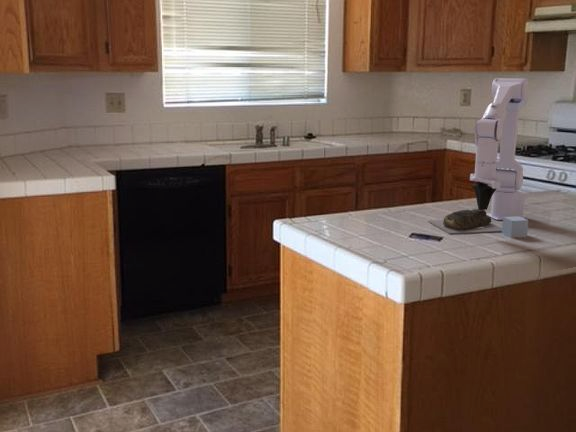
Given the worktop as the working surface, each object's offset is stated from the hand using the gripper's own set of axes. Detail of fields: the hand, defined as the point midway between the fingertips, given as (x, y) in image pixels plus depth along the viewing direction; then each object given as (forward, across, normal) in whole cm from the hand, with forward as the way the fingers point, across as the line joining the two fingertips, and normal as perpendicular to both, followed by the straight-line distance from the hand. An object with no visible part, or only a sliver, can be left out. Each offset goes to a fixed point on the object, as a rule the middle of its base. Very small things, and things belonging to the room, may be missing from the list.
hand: (482, 209), depth 183 cm
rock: (+7, -10, 0) cm, 12 cm away
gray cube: (+8, +2, +9) cm, 12 cm away
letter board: (+7, -10, 0) cm, 12 cm away
